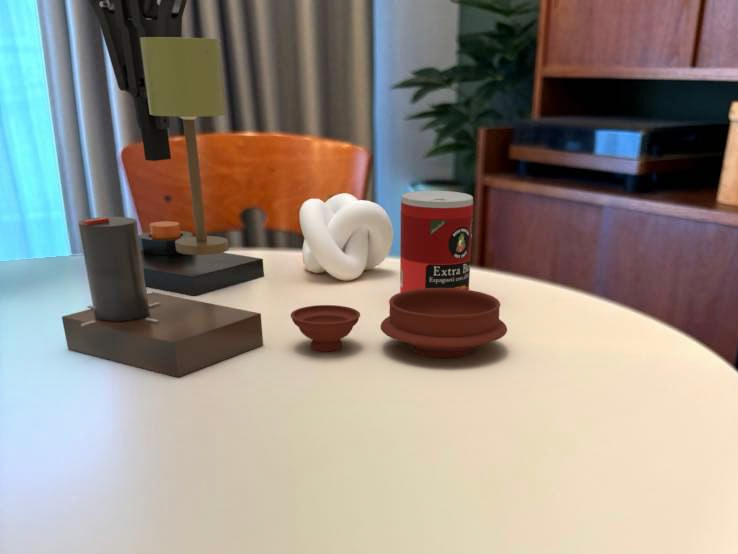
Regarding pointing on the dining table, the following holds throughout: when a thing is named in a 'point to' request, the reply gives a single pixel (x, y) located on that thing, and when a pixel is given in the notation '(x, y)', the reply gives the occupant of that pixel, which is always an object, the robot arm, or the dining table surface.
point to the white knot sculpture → (344, 235)
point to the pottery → (414, 321)
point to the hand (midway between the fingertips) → (158, 159)
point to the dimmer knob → (114, 268)
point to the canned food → (435, 240)
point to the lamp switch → (165, 229)
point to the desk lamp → (187, 110)
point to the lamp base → (193, 267)
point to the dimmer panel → (167, 335)
